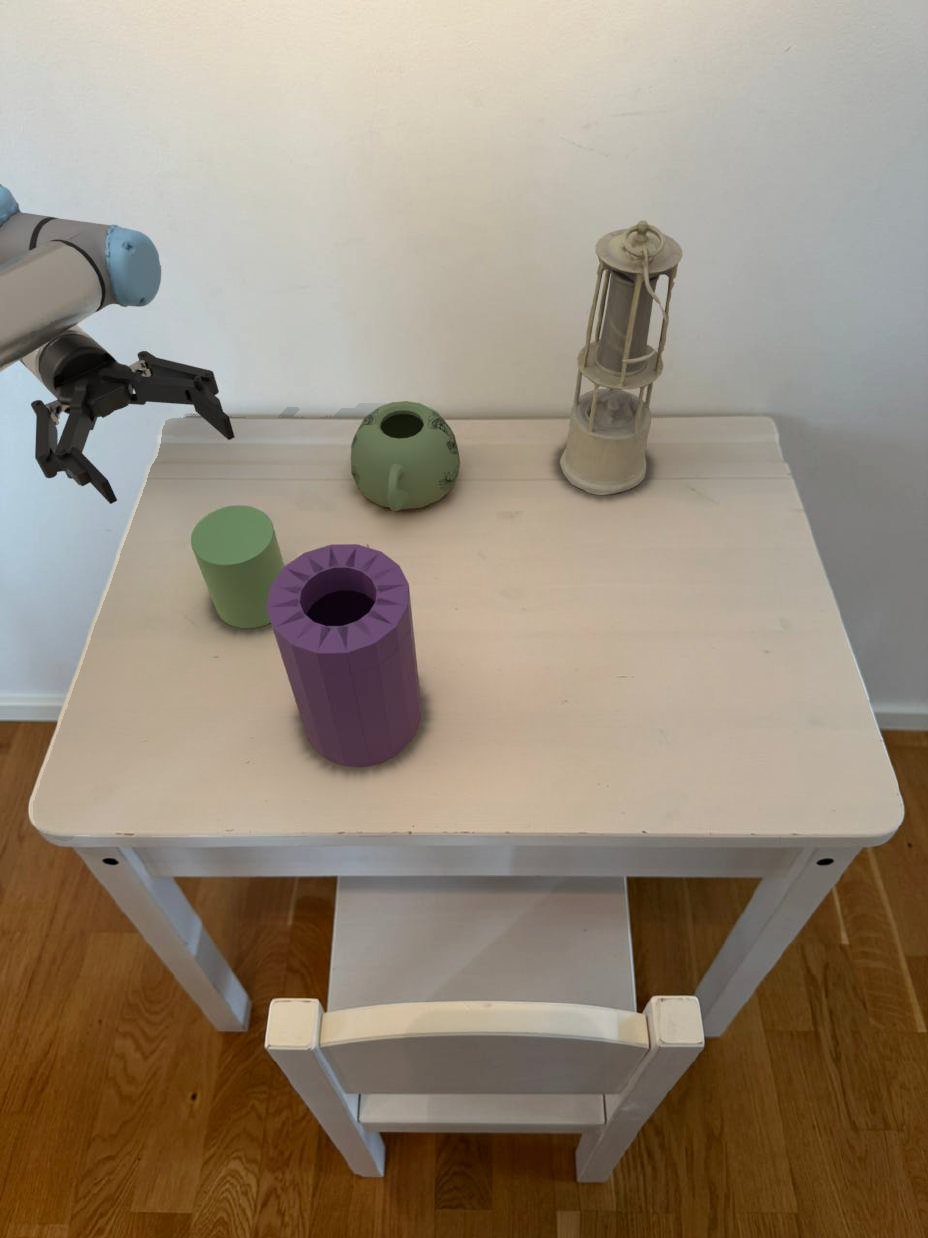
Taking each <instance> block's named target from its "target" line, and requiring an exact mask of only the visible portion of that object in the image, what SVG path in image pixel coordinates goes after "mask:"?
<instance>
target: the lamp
mask: <svg viewBox="0 0 928 1238" xmlns="http://www.w3.org/2000/svg"><path fill="white" fill-rule="evenodd" d="M595 255H596V256H597V258H598V261H599V264H598V266H597V270H596V275H597V279H596V283H595V289H594V294H593V298H592V303H591V306H590V311H589V312H588V311H586V313H589V316H588V322H587V328H586V336H585V337H586V338H585V344H584V346H583V347H582V348H581V349H580V350H579V352H578V355H577V357H576V365H577V367H578V369H577V376H576V384H575V391H574V397H573V403H572V406H571V410H570V420H569V427H568V432H567V433H568V434H567V439H566V446H565V449H564V450H563V452H562V454H561V457H560V459H559V466H560V468H561V472H562V473H563V476H564V477H565V478H566V480H567V481H568V482H569V484H571V485H572V486H574V487H576V488H578V489H580V490H582V491H584V492H586V493H588V494H591V495H592V494H593V495H597V496H606V495H607V496H608V495H614V494H618V493H621V492H625V491H628V490H631V489H634V487H637V486H638V485H639V484H640V483H642V482H643V481H644V479H645V477H646V474H647V459H646V451H647V445H648V440H649V439H648V438H649V433H650V429H651V428H650V427H651V424H652V411H651V408H650V405H651V404H650V403H651V397H652V392H653V387H654V382H656V381H657V379H659V378H660V376H661V375H662V374H663V371H664V361H663V358H662V354H663V352H664V351H665V346H666V342H667V333H668V327H669V321H670V317H669V313H670V312H669V311H670V302H671V299H672V290H673V288H674V287H675V281H674V280H675V279H676V277H677V272H678V267H679V266H678V265H679V263H680V262H681V260H682V258H683V249H682V247H681V245H680V243H678V242H677V241H676V240H675V239H674V238H673V237H671V236H669V235H666V234H665V233H662V231H661V230H660V229H659V228H658V227H656V226H655V225H653V224H649V223H648V221H647V220H640V221H638V223H637V224H634V225H632V226H630V227H628V228H622V229H619V230H618V229H617V230H613V231H611V232H608V233H606V234H604V235H602V237H600V238H599V239H598V241H597V242H596V244H595ZM604 271H605V273H604ZM603 274H604V279H603V284H602V278H603ZM662 275H663V276H667V277H668V280H667V281H668V283H667V293H666V299H665V308H663V307H662V302H661V300H660V298H659V297H658V296H657V294H656V288H657V283H658V281H659V279H660V276H662ZM601 284H602V289H601ZM600 289H601V294H600ZM599 295H601V296H600V301H599V302H600V303H599V308H598V315H597V322H596V326H595V334H594V340H593V341H592V342H591V340H592V333H593V326H594V320H595V315H596V310H597V304H598V300H599ZM654 301H655V303H657V304H658V305H659V308H660V310H661V312H662V313H661V314H662V316H663V317H662V323H661V329H660V334H659V341H658V346H657V348H655V349H654V348H653V347H652V346H651V345H649V344H648V338H649V332H650V325H651V317H652V310H653V302H654ZM605 307H606V308H605ZM583 377H584V378H587V379H588V381H590V382H591V383H593V390H590V391H588V392H585V393H583V394H581V389H582V380H583V379H582V378H583ZM600 387H603V388H600ZM645 388H646V394H645V393H644V392H645ZM634 389H639V394H638V395H636V394H634V393H632V392H629V391H631V390H634ZM627 390H629V391H627ZM644 395H645V400H643V397H644Z"/></svg>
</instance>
